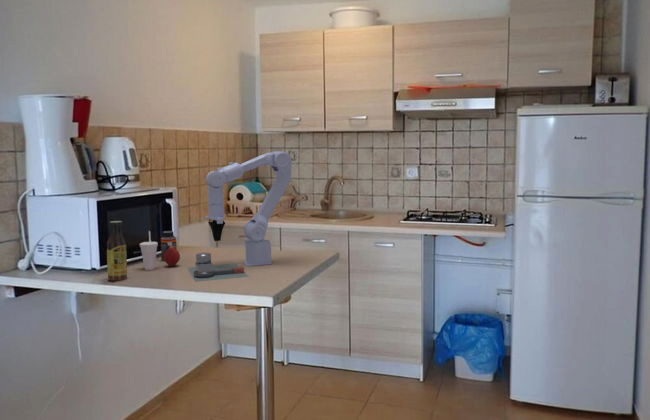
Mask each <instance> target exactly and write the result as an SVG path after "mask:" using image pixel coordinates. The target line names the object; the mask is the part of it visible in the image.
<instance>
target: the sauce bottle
mask: <svg viewBox="0 0 650 420" xmlns="http://www.w3.org/2000/svg"><path fill="white" fill-rule="evenodd" d="M109 229H110V233H109V234H110V235H109V237H108V239H107V241H106V262H107V264H106V265H107V268H106V269H107V279H108V281H112V282H115V281H116V282H119V281H124V280H126V279H127V278H128V276H127V275H128V261H127V259H128V258H127V257H128V256H127V244H126V241H125V238H124V235H123V221H122V220H113V221H109Z"/></svg>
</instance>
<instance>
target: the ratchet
mask: <svg viewBox="0 0 650 420" xmlns="http://www.w3.org/2000/svg"><path fill="white" fill-rule="evenodd" d="M212 270H213V269H212ZM244 272H245V268H244V267H243V266H242V265H241V266H239V267H232V269H222V270H213V272H207V273H198V272H197V271H194V277H195V278H210V277H213V276H215V275H226V274H239V273H244Z"/></svg>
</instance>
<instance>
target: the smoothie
mask: <svg viewBox="0 0 650 420" xmlns="http://www.w3.org/2000/svg"><path fill="white" fill-rule="evenodd" d="M151 236H152V235H151V231H150V230H148V241H143V242H141V243H139V248H140V251H141V256H142V257H141V258H142V261H143V266H144V270H146V271H147V270H148V271H152V270H156V264H157V263H156V262H157V253H158V252H157V251H158V246H159V244H158V243H159V242H157V241H152V240H151Z"/></svg>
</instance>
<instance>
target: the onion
mask: <svg viewBox="0 0 650 420" xmlns="http://www.w3.org/2000/svg"><path fill="white" fill-rule="evenodd" d="M173 247H174V246H170V248H169V249H168V250H167V251H166V252H165V254H164V261H163V262H165V263H166V265H168V266H169V267H174V266H176V265H177V264H178V263H179V261H180V259H181V255H180V252H179V251H178V249H177V250H176V249H175V248H173Z"/></svg>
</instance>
